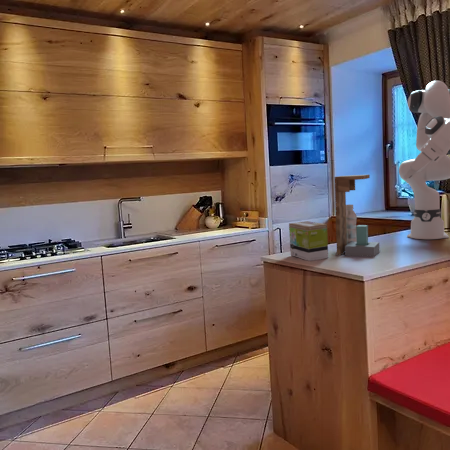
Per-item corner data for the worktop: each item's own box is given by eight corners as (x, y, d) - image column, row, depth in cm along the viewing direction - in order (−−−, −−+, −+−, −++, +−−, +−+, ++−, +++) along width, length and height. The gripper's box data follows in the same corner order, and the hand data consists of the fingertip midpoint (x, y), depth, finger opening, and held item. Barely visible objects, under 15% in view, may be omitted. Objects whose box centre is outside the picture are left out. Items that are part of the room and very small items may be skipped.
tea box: (289, 256, 201) (288, 222, 199) (308, 253, 205) (307, 220, 203) (308, 261, 187) (307, 225, 185) (329, 258, 191) (328, 223, 189)
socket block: (351, 250, 205) (351, 241, 204) (379, 251, 199) (379, 242, 199) (345, 255, 194) (344, 246, 194) (374, 256, 189) (374, 247, 188)
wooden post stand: (343, 250, 206) (341, 175, 203) (371, 251, 201) (369, 174, 197) (336, 255, 196) (334, 176, 192) (365, 256, 190) (363, 175, 186)
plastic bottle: (358, 249, 207) (357, 205, 205) (343, 249, 209) (341, 205, 206) (357, 246, 213) (356, 203, 211) (342, 246, 215) (341, 204, 212)
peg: (358, 252, 200) (358, 225, 198) (368, 252, 198) (367, 225, 196) (356, 254, 196) (356, 226, 195) (366, 254, 194) (365, 226, 193)
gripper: (428, 147, 194) (403, 172, 200) (423, 146, 176) (397, 173, 182) (439, 157, 192) (414, 181, 198) (436, 157, 175) (409, 184, 180)
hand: (406, 177), depth 190 cm, fingers open, 8 cm apart
